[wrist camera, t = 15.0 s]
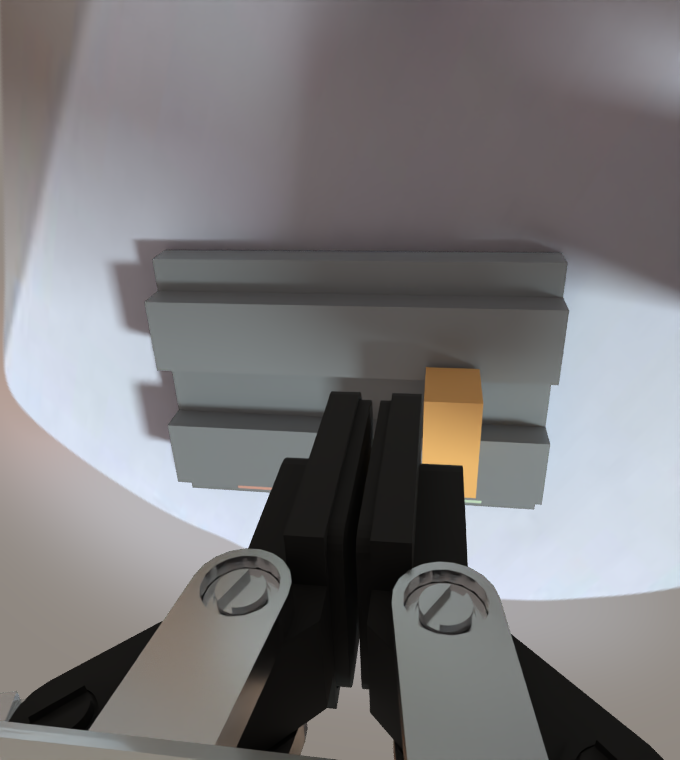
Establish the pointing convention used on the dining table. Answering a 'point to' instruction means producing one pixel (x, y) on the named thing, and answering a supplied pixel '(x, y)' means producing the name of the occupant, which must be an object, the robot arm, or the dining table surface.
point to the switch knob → (453, 421)
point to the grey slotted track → (353, 352)
